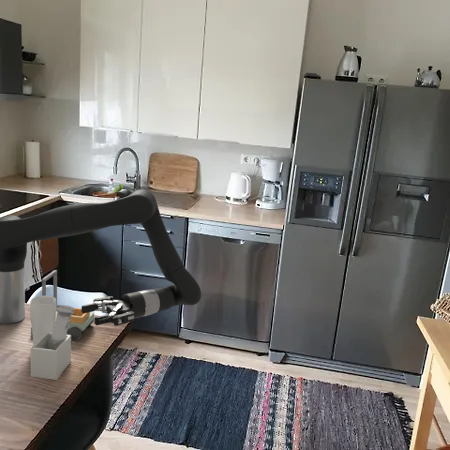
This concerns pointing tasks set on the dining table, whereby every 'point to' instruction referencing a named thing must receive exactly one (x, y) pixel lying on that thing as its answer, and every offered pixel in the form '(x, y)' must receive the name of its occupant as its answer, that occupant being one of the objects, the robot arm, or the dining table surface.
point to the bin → (50, 357)
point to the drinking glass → (42, 316)
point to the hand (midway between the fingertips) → (88, 315)
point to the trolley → (77, 319)
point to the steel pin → (61, 325)
